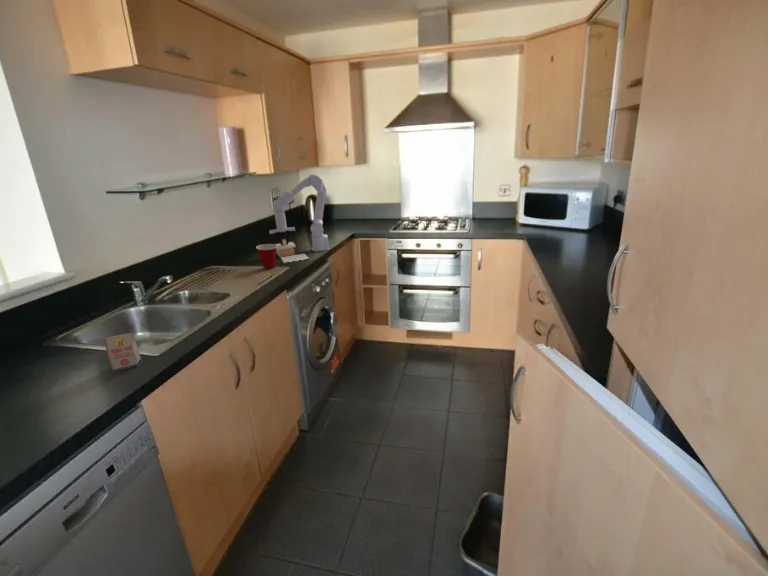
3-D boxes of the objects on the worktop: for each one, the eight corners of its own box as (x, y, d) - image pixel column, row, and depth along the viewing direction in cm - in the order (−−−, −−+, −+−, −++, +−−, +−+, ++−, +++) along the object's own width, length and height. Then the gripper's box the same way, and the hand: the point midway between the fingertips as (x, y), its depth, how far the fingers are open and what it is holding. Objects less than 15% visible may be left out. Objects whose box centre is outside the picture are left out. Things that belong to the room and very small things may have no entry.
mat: (304, 254, 236) (304, 253, 236) (309, 259, 224) (309, 258, 223) (280, 257, 231) (280, 257, 231) (284, 263, 219) (284, 262, 219)
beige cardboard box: (116, 365, 119) (106, 335, 116) (141, 360, 121) (132, 330, 118) (112, 371, 116) (102, 340, 112) (138, 366, 118) (129, 335, 114)
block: (292, 251, 244) (291, 247, 243) (294, 254, 236) (294, 250, 235) (277, 254, 241) (276, 249, 240) (279, 257, 233) (278, 252, 232)
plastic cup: (273, 271, 205) (269, 248, 201) (255, 270, 209) (251, 248, 205) (284, 265, 215) (281, 243, 211) (267, 264, 219) (263, 243, 215)
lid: (292, 243, 243) (291, 236, 242) (295, 247, 233) (294, 239, 232) (274, 246, 240) (273, 239, 238) (276, 249, 230) (275, 242, 228)
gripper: (292, 218, 237) (295, 241, 242) (267, 222, 233) (271, 244, 237) (294, 220, 231) (297, 243, 236) (268, 223, 227) (272, 247, 231)
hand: (284, 244), depth 236 cm, fingers closed on lid, 3 cm apart
